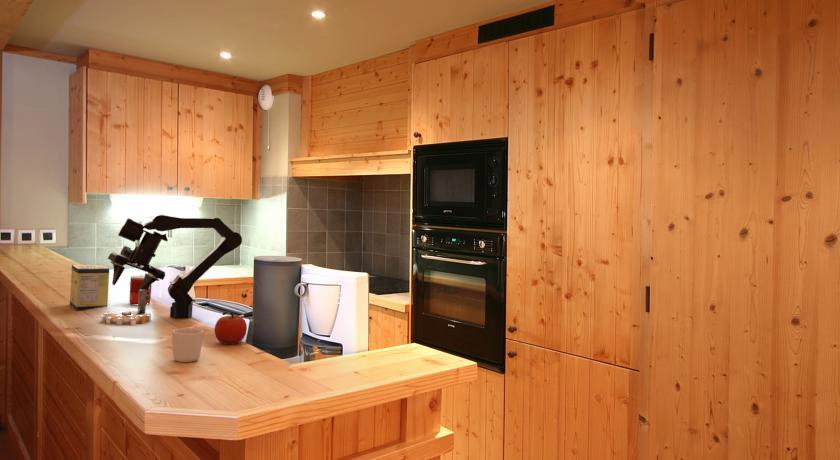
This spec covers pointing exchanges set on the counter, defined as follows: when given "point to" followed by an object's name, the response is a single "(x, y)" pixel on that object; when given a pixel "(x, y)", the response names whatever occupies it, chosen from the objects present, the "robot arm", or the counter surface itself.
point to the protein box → (89, 287)
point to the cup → (187, 344)
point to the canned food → (134, 288)
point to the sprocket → (129, 313)
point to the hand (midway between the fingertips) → (125, 288)
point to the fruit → (230, 328)
